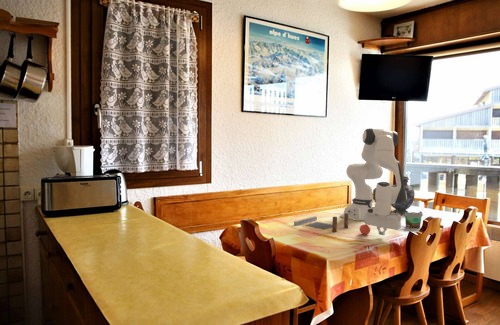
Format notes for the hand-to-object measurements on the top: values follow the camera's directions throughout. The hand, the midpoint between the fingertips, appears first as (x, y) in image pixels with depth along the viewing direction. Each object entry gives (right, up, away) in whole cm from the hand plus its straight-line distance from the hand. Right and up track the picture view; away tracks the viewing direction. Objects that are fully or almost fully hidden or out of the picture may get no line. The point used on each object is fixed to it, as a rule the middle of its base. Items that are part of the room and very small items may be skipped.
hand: (381, 234), depth 214 cm
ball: (-7, +2, +7) cm, 10 cm away
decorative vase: (+42, +2, +78) cm, 89 cm away
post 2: (-14, 0, +23) cm, 27 cm away
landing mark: (-30, +1, +27) cm, 40 cm away
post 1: (-24, -1, +12) cm, 27 cm away
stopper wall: (-38, +1, +35) cm, 52 cm away
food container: (+31, -1, +27) cm, 41 cm away
